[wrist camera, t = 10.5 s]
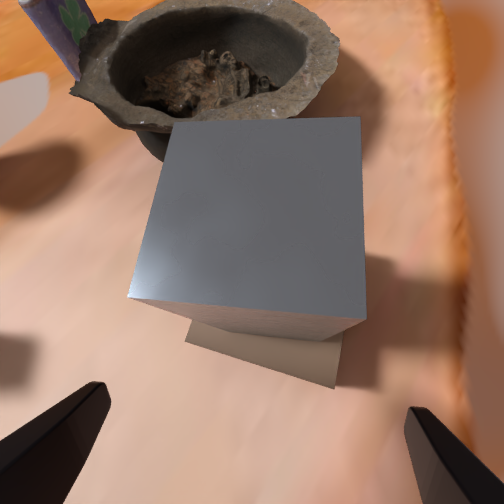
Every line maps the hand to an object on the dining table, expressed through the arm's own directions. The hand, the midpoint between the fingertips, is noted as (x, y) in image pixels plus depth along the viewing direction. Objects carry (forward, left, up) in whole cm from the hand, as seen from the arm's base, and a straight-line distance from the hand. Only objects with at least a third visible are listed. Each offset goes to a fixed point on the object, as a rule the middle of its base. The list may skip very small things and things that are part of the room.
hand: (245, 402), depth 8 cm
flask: (+37, +30, -13) cm, 50 cm away
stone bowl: (+28, +9, -13) cm, 32 cm away
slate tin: (+6, 0, -9) cm, 11 cm away
